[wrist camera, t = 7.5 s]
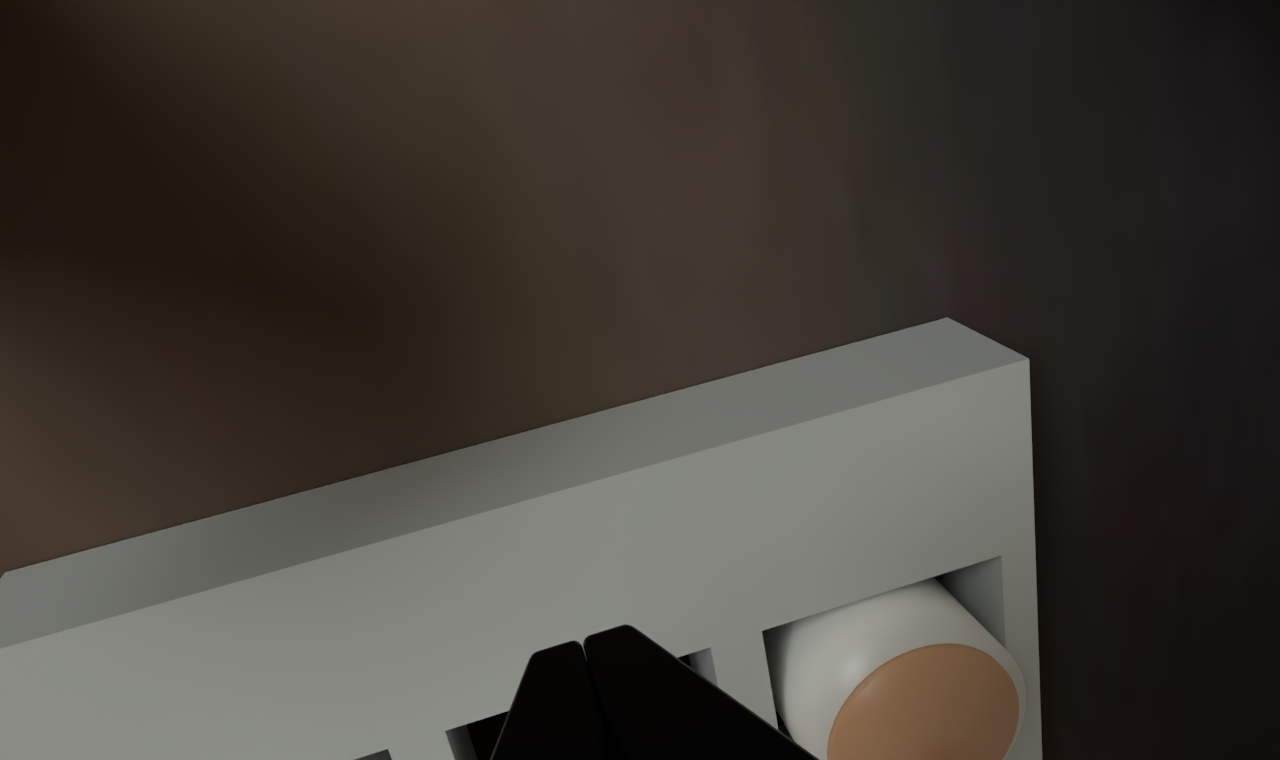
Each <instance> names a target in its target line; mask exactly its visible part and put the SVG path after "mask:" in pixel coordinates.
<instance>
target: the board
mask: <svg viewBox="0 0 1280 760" xmlns="http://www.w3.org/2000/svg"><path fill="white" fill-rule="evenodd" d="M934 576H935V578H936V580H937V581H938V582H939V583H940V584H941V585H942V586H943V587H944V588H945V589H946V590H947V591H948V592H949V593H950V594H951V595H952V596H953V597H954V598H955V599H956V600H957V601H958V602H959V603H960V604H961V605H962V606H963V607H964V608H965V609H966V610H967V611H968V612H969V613H970V614H971V615H972V616H973V617H974V618H975V619H976V620H977V621H978V622H979V623H980V624H981V625H982V626H983V627H984V628H985V629H986V630H987V631H988V632H989V633H990V634H991V635H992V636H993V637H994V638H995V639H996V640H997V641H998V642H999V643H1000V644H1001V645H1002V646H1003V647H1004V648H1005V649H1006V650H1007V651H1008V652H1009V653H1010V654H1011V656H1012V657H1013V658H1014V660H1015V661H1016V662H1017V664H1018V666H1019V668H1020V670H1021V672H1022V675H1023V679H1024V682H1025V689H1026V709H1025V715H1024V720H1023V723H1022V727H1021V730H1020V733H1019V735H1018V737H1017V739H1016V742H1015V744H1014V746H1013V747H1012V749H1011V751H1010V753H1009V754H1008V756H1007V757H1006V759H1005V760H1042V734H1041V704H1040V673H1039V643H1038V613H1037V582H1036V552H1035V522H1034V492H1033V461H1032V431H1031V401H1030V371H1029V358H1027V357H1025V356H1023V355H1021V354H1019V353H1017V352H1015V351H1013V350H1011V349H1009V348H1007V347H1005V346H1003V345H1001V344H999V343H997V342H995V341H993V340H991V339H989V338H987V337H985V336H983V335H981V334H979V333H977V332H975V331H973V330H971V329H969V328H967V327H966V326H964V325H962V324H960V323H958V322H956V321H954V320H952V319H950V318H944V319H940V320H936V321H933V322H929V323H925V324H922V325H918V326H914V327H911V328H907V329H903V330H899V331H896V332H892V333H888V334H885V335H881V336H877V337H874V338H870V339H866V340H863V341H859V342H855V343H851V344H848V345H844V346H840V347H837V348H833V349H829V350H826V351H822V352H818V353H814V354H811V355H807V356H803V357H800V358H796V359H792V360H789V361H785V362H781V363H777V364H774V365H770V366H766V367H763V368H759V369H755V370H752V371H748V372H744V373H741V374H737V375H733V376H729V377H726V378H722V379H718V380H715V381H711V382H707V383H704V384H700V385H696V386H692V387H689V388H685V389H681V390H678V391H674V392H670V393H667V394H663V395H659V396H655V397H652V398H648V399H644V400H641V401H637V402H633V403H630V404H626V405H622V406H619V407H615V408H611V409H607V410H604V411H600V412H596V413H593V414H589V415H585V416H582V417H578V418H574V419H570V420H567V421H563V422H559V423H556V424H552V425H548V426H545V427H541V428H537V429H533V430H530V431H526V432H522V433H519V434H515V435H511V436H508V437H504V438H500V439H497V440H493V441H489V442H485V443H482V444H478V445H474V446H471V447H467V448H463V449H460V450H456V451H452V452H448V453H445V454H441V455H437V456H434V457H430V458H426V459H423V460H419V461H415V462H411V463H408V464H404V465H400V466H397V467H393V468H389V469H386V470H382V471H378V472H375V473H371V474H367V475H363V476H360V477H356V478H352V479H349V480H345V481H341V482H338V483H334V484H330V485H326V486H323V487H319V488H315V489H312V490H308V491H304V492H301V493H297V494H293V495H289V496H286V497H282V498H278V499H275V500H271V501H267V502H264V503H260V504H256V505H253V506H249V507H245V508H241V509H238V510H234V511H230V512H227V513H223V514H219V515H216V516H212V517H208V518H204V519H201V520H197V521H193V522H190V523H186V524H182V525H179V526H175V527H171V528H167V529H164V530H160V531H156V532H153V533H149V534H145V535H142V536H138V537H134V538H131V539H127V540H123V541H119V542H116V543H112V544H108V545H105V546H101V547H97V548H94V549H90V550H86V551H82V552H79V553H75V554H71V555H68V556H64V557H60V558H57V559H53V560H49V561H46V562H42V563H38V564H34V565H31V566H27V567H23V568H20V569H16V570H12V571H9V572H5V573H4V575H3V576H2V577H1V579H0V760H354V759H358V758H361V757H364V756H367V755H370V754H373V753H377V752H380V751H383V750H386V749H388V750H389V753H390V756H391V759H392V760H478V759H477V756H476V753H475V750H474V747H473V744H472V741H471V738H470V735H469V731H468V728H467V725H466V724H469V723H472V722H475V721H478V720H481V719H484V718H488V717H491V716H494V715H497V714H500V713H503V712H507V711H509V710H510V707H511V705H512V702H513V699H514V697H515V694H516V692H517V689H518V687H519V684H520V681H521V679H522V676H523V674H524V671H525V669H526V666H527V663H528V661H529V659H530V657H531V656H532V654H533V653H535V652H537V651H539V650H543V649H546V648H549V647H552V646H556V645H559V644H562V643H565V642H569V641H574V640H575V641H578V642H579V643H580V644H581V645H582V647H583V642H584V639H585V638H586V637H587V636H589V635H592V634H595V633H598V632H601V631H604V630H608V629H611V628H614V627H617V626H621V625H625V624H627V625H631V626H633V627H635V628H636V629H638V630H639V631H640V632H642V633H643V634H645V635H646V636H647V637H649V638H650V639H652V640H653V641H654V642H656V643H657V644H659V645H660V646H661V647H663V648H664V649H666V650H667V651H668V652H670V653H671V654H673V655H674V656H675V657H677V658H678V657H681V656H684V655H687V654H688V655H689V660H690V665H691V668H692V669H694V670H695V671H696V672H698V673H699V674H701V675H702V676H703V677H705V678H706V679H708V680H709V681H710V682H712V683H713V684H715V685H716V686H717V687H719V688H720V689H722V690H723V691H724V692H726V693H727V694H729V695H730V696H731V697H733V698H734V699H736V700H737V701H738V702H740V703H741V704H743V705H744V706H745V707H747V708H748V709H750V710H751V711H752V712H754V713H755V714H757V715H758V716H759V717H761V718H762V719H764V720H765V721H766V722H768V723H769V724H771V725H772V726H773V727H775V728H776V729H777V730H779V731H780V732H782V733H783V734H784V735H786V736H787V737H789V738H790V739H791V740H793V738H792V737H791V735H790V733H789V731H788V730H787V728H786V726H785V725H782V726H779V727H778V724H777V718H776V712H775V706H774V700H773V694H772V688H771V682H770V676H769V670H768V664H767V658H766V653H765V647H764V641H763V635H762V631H763V630H766V629H770V628H773V627H776V626H779V625H782V624H786V623H789V622H792V621H795V620H798V619H801V618H805V617H808V616H811V615H814V614H817V613H820V612H824V611H827V610H830V609H833V608H836V607H839V606H843V605H846V604H849V603H852V602H855V601H858V600H862V599H865V598H868V597H871V596H874V595H877V594H881V593H884V592H887V591H890V590H893V589H896V588H900V587H903V586H906V585H909V584H912V583H915V582H919V581H922V580H925V579H928V578H931V577H934ZM583 650H584V648H583ZM584 653H585V652H584ZM793 741H794V740H793Z"/></svg>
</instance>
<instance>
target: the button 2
mask: <svg viewBox="0 0 1280 760" xmlns="http://www.w3.org/2000/svg"><path fill="white" fill-rule="evenodd" d="M762 635H763V641H764V647H765V653H766V658H767V664H768V670H769V676H770V682H771V688H772V694H773V700H774V706H775V708H776V710H777V712H778V714H779V715H780V717H781V719H782V721H783V722H784V724H785V726H786V728H787V730H788V731H789V733H790V735H791V737H792V738H793V740H794V742H796V743H797V744H798V745H800V746H801V747H803V748H804V749H805V750H807V751H808V752H810V753H811V754H812V755H814V756H815V757H817V758H818V759H819V760H1005V759H1006V757H1007V756H1008V754H1009V753H1010V751H1011V749H1012V747H1013V746H1014V744H1015V742H1016V739H1017V737H1018V735H1019V733H1020V730H1021V727H1022V723H1023V720H1024V715H1025V709H1026V689H1025V682H1024V679H1023V675H1022V672H1021V670H1020V668H1019V666H1018V664H1017V662H1016V661H1015V660H1014V658H1013V657H1012V656H1011V654H1010V653H1009V652H1008V651H1007V650H1006V649H1005V648H1004V647H1003V646H1002V645H1001V644H1000V643H999V642H998V641H997V640H996V639H995V638H994V637H993V636H992V635H991V634H990V633H989V632H988V631H987V630H986V629H985V628H984V627H983V626H982V625H981V624H980V623H979V622H978V621H977V620H976V619H975V618H974V617H973V616H972V615H971V614H970V613H969V612H968V611H967V610H966V609H965V608H964V607H963V606H962V605H961V604H960V603H959V602H958V601H957V600H956V599H955V598H954V597H953V596H952V595H951V594H950V593H949V592H948V591H947V590H946V589H945V588H944V587H943V586H942V585H941V584H940V583H939V582H938V581H937V580H936V579H935V578H934V577H931V578H928V579H925V580H922V581H919V582H915V583H912V584H909V585H906V586H903V587H900V588H896V589H893V590H890V591H887V592H884V593H881V594H877V595H874V596H871V597H868V598H865V599H862V600H858V601H855V602H852V603H849V604H846V605H843V606H839V607H836V608H833V609H830V610H827V611H824V612H820V613H817V614H814V615H811V616H808V617H805V618H801V619H798V620H795V621H792V622H789V623H786V624H782V625H779V626H776V627H773V628H770V629H766V630H763V631H762Z"/></svg>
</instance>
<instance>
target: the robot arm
mask: <svg viewBox="0 0 1280 760" xmlns="http://www.w3.org/2000/svg"><path fill="white" fill-rule="evenodd" d="M583 648H584V650H583ZM584 652H585V653H584ZM490 760H819V759H818V758H817V757H815V756H814V755H812V754H811V753H810V752H808V751H807V750H805V749H804V748H803V747H801V746H800V745H798V744H797V743H796V742H794V741H793V740H791V739H790V738H789V737H787V736H786V735H784V734H783V733H782V732H780V731H779V730H777V729H776V728H775V727H773V726H772V725H771V724H769V723H768V722H766V721H765V720H764V719H762V718H761V717H759V716H758V715H757V714H755V713H754V712H752V711H751V710H750V709H748V708H747V707H745V706H744V705H743V704H741V703H740V702H738V701H737V700H736V699H734V698H733V697H731V696H730V695H729V694H727V693H726V692H724V691H723V690H722V689H720V688H719V687H717V686H716V685H715V684H713V683H712V682H710V681H709V680H708V679H706V678H705V677H703V676H702V675H701V674H699V673H698V672H696V671H695V670H694V669H692V668H691V667H689V666H688V665H687V664H685V663H684V662H682V661H681V660H680V659H678V658H677V657H675V656H674V655H673V654H671V653H670V652H668V651H667V650H666V649H664V648H663V647H661V646H660V645H659V644H657V643H656V642H654V641H653V640H652V639H650V638H649V637H647V636H646V635H645V634H643V633H642V632H640V631H639V630H638V629H636V628H635V627H633V626H631V625H627V624H625V625H621V626H617V627H614V628H611V629H608V630H604V631H601V632H598V633H595V634H592V635H589V636H587V637H586V638H585V639H584V642H583V647H582V645H581V644H580V643H579V642H578V641H575V640H574V641H569V642H565V643H562V644H559V645H556V646H552V647H549V648H546V649H543V650H539V651H537V652H535V653H533V654H532V656H531V657H530V659H529V661H528V663H527V666H526V669H525V671H524V674H523V676H522V679H521V681H520V684H519V687H518V689H517V692H516V694H515V697H514V699H513V702H512V705H511V707H510V710H509V712H508V715H507V717H506V720H505V723H504V725H503V728H502V730H501V733H500V735H499V738H498V741H497V743H496V746H495V748H494V751H493V753H492V756H491V759H490Z"/></svg>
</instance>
